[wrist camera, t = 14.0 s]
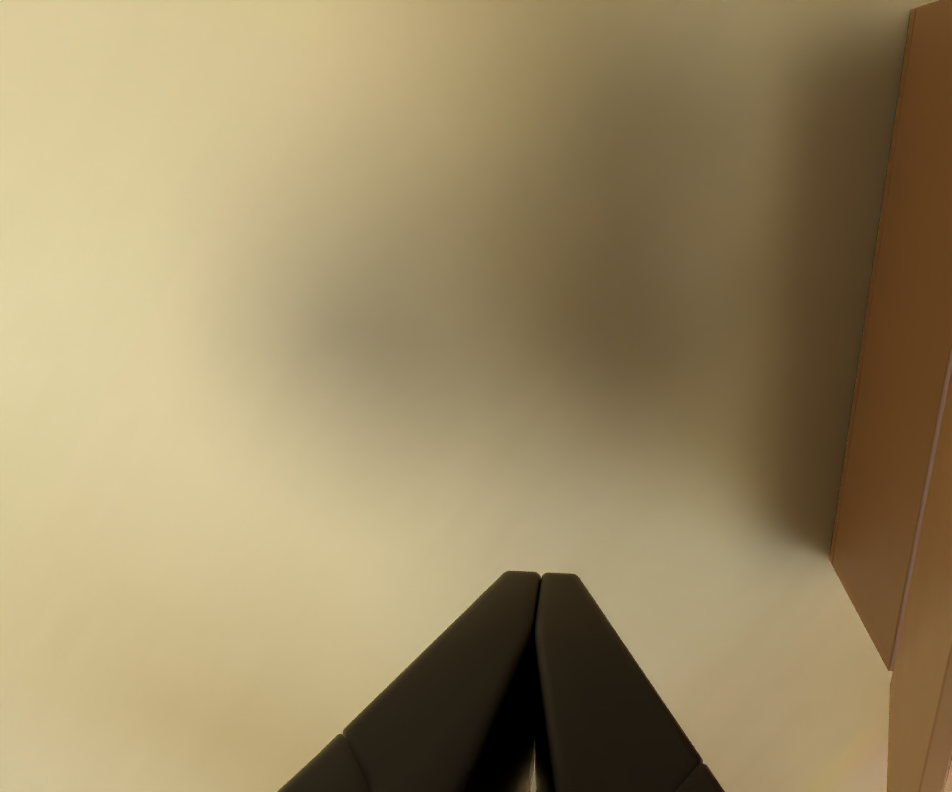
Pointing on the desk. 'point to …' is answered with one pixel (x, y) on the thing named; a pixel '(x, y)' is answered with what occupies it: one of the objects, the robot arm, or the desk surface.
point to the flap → (926, 643)
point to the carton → (902, 344)
